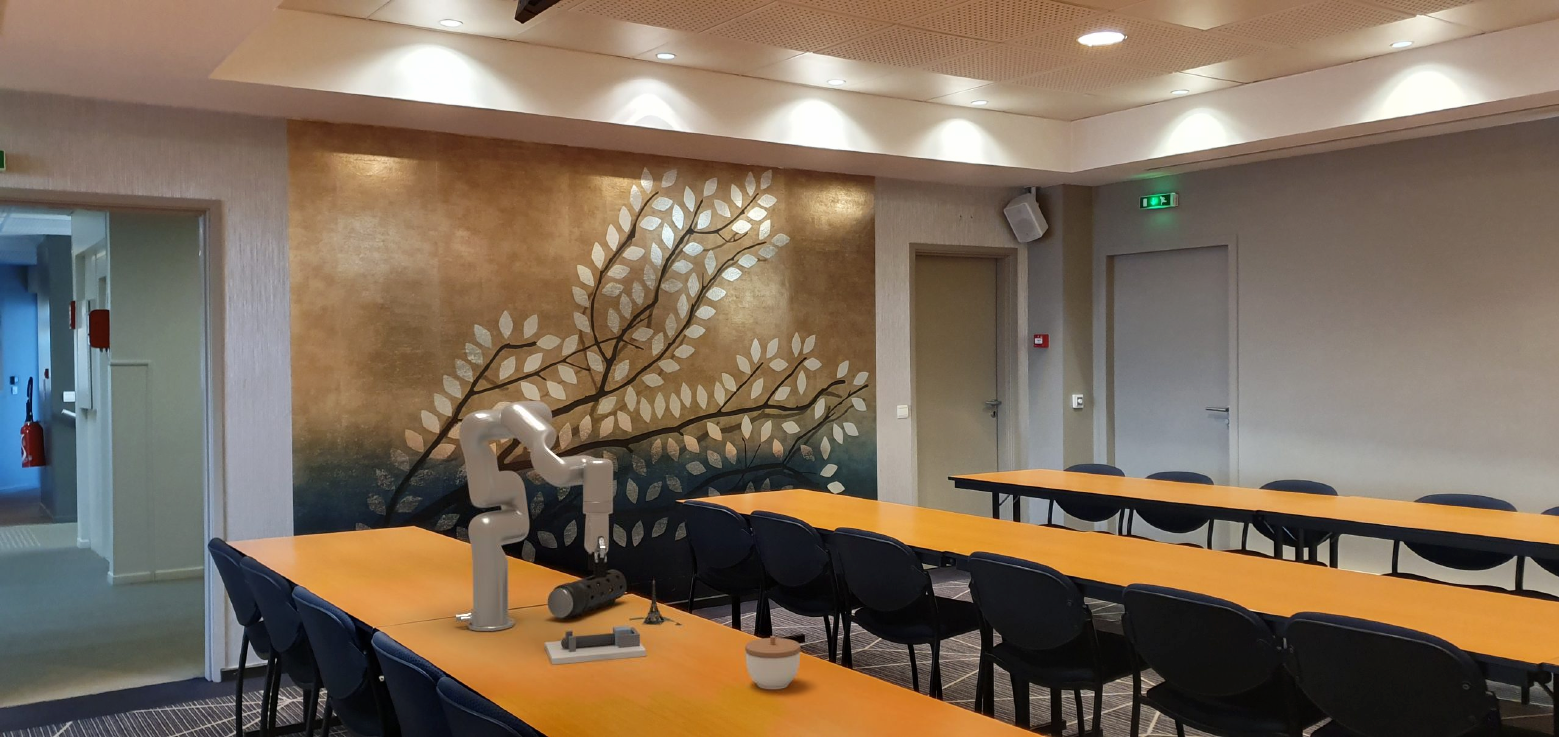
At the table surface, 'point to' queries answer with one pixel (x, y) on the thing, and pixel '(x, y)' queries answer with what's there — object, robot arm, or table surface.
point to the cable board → (595, 649)
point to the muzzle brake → (586, 594)
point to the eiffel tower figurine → (654, 613)
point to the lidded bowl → (772, 661)
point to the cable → (598, 638)
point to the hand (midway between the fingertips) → (597, 573)
